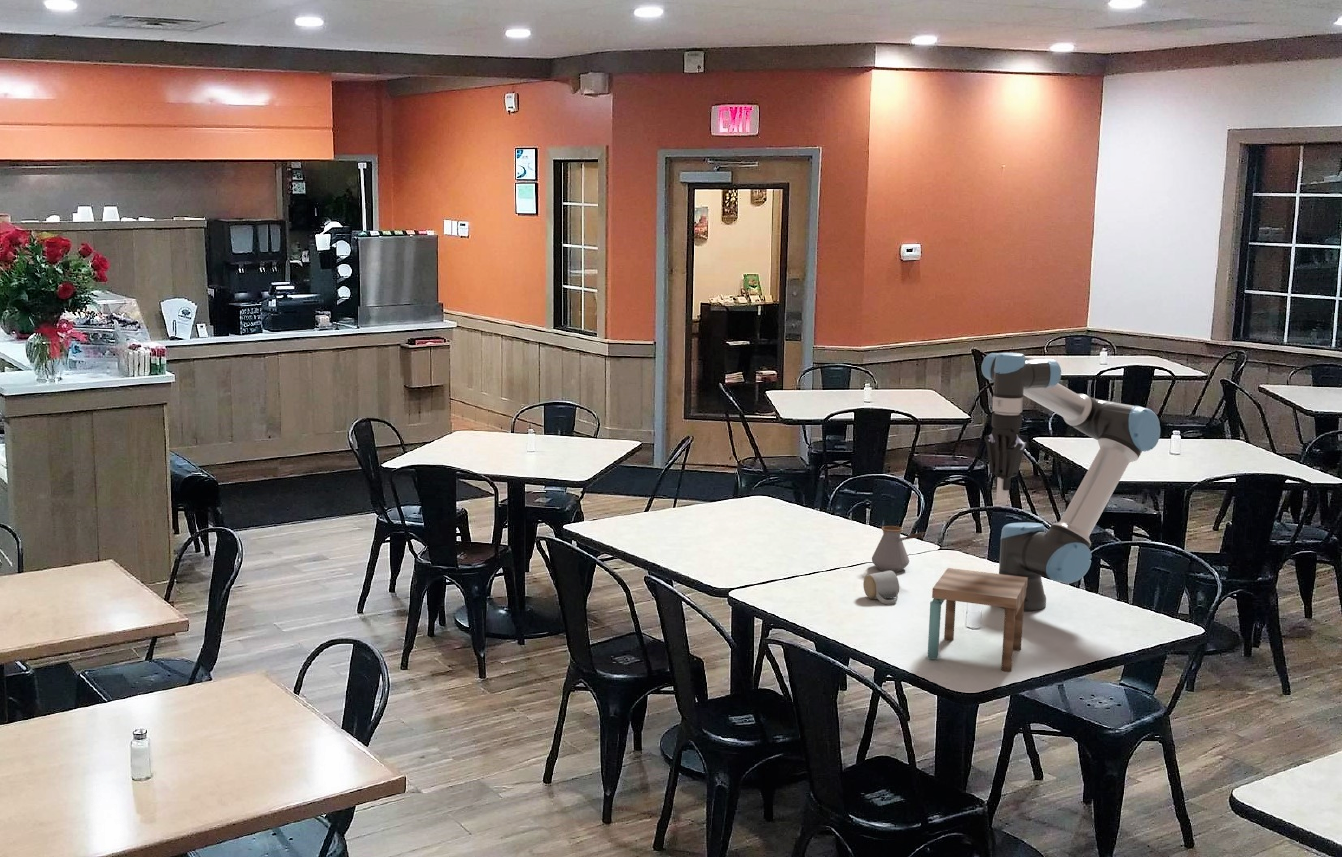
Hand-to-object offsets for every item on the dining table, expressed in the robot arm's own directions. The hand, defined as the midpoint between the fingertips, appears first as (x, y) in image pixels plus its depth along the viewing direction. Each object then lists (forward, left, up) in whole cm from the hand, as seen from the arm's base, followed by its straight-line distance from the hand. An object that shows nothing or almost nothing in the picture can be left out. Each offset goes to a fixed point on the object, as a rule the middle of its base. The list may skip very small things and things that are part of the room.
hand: (1001, 501), depth 340 cm
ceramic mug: (-34, -9, -35) cm, 49 cm away
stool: (+13, -20, -34) cm, 42 cm away
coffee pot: (-52, +14, -35) cm, 64 cm away
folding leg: (+6, -27, -34) cm, 44 cm away
